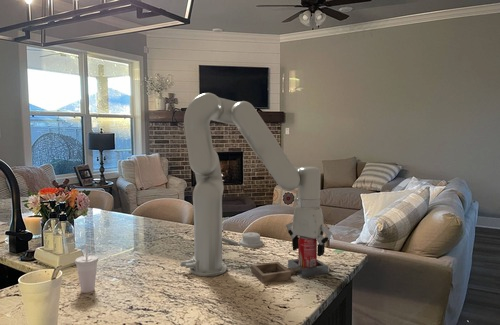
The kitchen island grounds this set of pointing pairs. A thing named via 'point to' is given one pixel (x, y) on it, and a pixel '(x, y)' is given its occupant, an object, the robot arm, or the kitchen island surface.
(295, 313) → the kitchen island surface
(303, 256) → the soda can
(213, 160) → the robot arm
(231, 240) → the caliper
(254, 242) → the mechanical component
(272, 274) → the stand socket
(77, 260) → the smoothie
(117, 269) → the kitchen island surface
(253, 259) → the kitchen island surface
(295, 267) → the socket
